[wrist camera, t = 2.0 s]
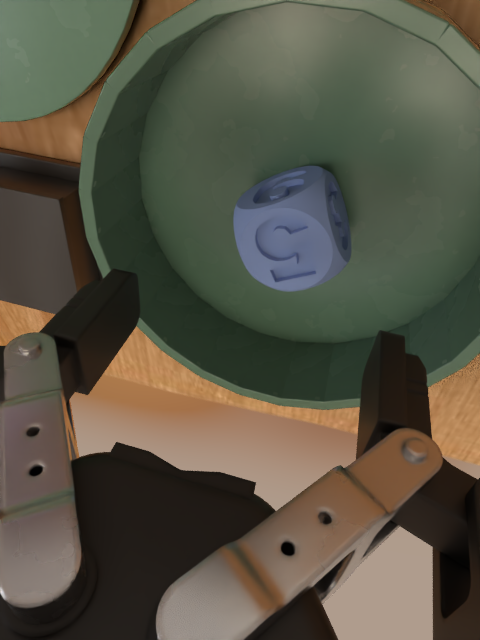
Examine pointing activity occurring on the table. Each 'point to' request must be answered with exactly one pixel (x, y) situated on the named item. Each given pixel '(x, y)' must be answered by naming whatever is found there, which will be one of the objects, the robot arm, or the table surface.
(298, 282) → the decorative dice
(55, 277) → the stand
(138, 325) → the tin
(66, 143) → the table surface
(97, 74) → the tin lid
